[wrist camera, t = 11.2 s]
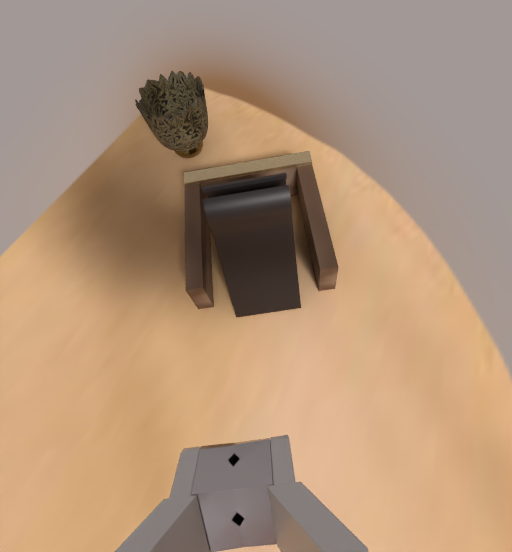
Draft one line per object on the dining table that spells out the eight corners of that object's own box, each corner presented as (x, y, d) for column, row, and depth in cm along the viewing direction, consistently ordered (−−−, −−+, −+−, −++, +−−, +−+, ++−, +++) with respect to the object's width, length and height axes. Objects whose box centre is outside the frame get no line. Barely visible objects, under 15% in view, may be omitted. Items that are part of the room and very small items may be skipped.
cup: (170, 129, 47) (147, 70, 40) (224, 130, 45) (209, 68, 38) (154, 171, 43) (125, 114, 36) (211, 173, 42) (192, 114, 35)
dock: (198, 309, 34) (184, 288, 30) (195, 200, 40) (183, 172, 36) (334, 288, 33) (338, 264, 29) (308, 181, 39) (309, 150, 36)
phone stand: (230, 239, 37) (200, 149, 27) (287, 230, 37) (279, 135, 26) (236, 318, 33) (203, 247, 22) (300, 309, 32) (298, 233, 22)
